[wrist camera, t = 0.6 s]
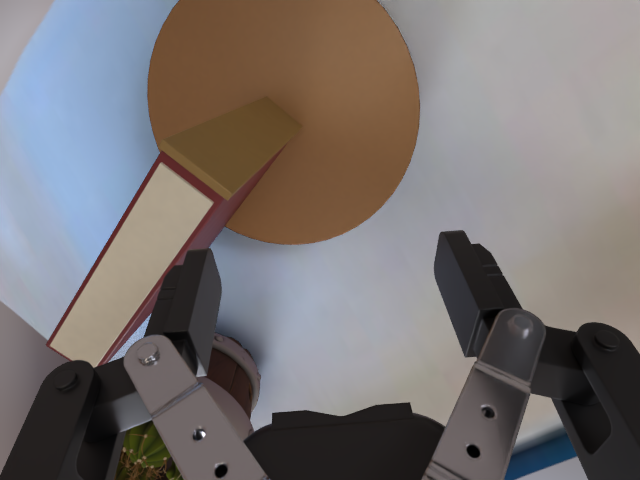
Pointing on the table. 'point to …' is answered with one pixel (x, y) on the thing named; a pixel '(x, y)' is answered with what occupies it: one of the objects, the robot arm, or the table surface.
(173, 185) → the book
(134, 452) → the flowerpot
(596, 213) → the table surface
